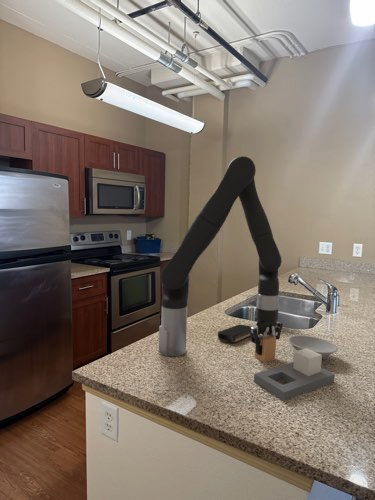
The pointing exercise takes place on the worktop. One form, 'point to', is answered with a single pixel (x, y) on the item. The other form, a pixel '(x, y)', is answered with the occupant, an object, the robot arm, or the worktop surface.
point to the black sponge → (234, 333)
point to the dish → (312, 344)
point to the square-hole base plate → (295, 375)
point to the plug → (267, 349)
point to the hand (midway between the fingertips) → (265, 352)
